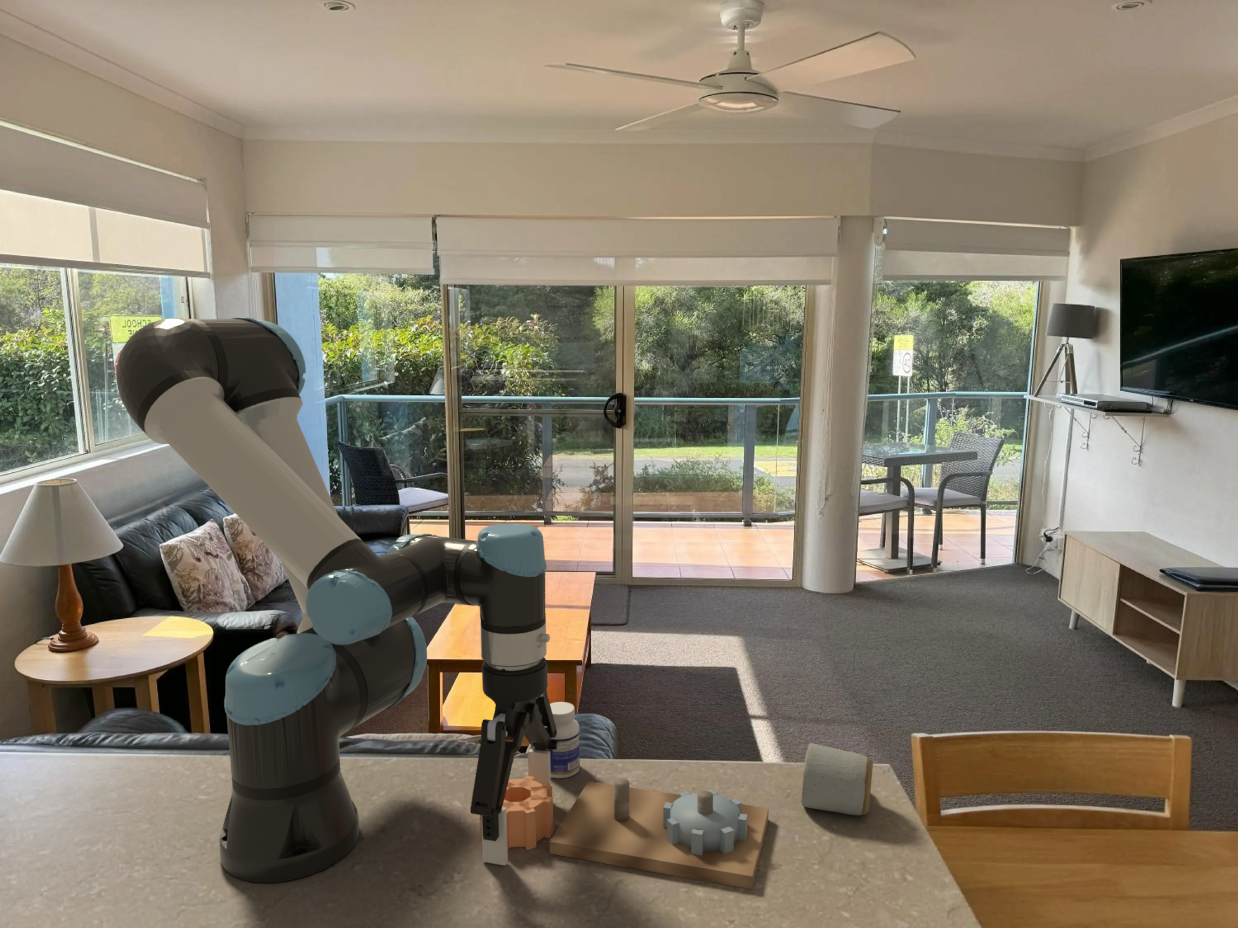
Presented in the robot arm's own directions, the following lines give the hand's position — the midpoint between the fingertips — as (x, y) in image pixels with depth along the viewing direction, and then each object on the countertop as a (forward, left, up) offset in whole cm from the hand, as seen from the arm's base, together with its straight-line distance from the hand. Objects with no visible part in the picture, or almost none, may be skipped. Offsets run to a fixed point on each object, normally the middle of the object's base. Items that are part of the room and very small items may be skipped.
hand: (519, 829), depth 105 cm
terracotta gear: (0, 0, 0) cm, 0 cm away
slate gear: (+22, +4, +1) cm, 22 cm away
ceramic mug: (+36, +17, 0) cm, 40 cm away
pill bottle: (0, +15, 0) cm, 15 cm away
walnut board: (+17, +4, 0) cm, 17 cm away
